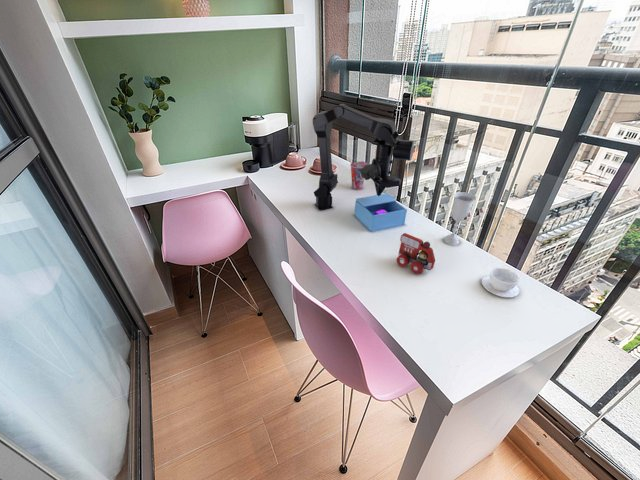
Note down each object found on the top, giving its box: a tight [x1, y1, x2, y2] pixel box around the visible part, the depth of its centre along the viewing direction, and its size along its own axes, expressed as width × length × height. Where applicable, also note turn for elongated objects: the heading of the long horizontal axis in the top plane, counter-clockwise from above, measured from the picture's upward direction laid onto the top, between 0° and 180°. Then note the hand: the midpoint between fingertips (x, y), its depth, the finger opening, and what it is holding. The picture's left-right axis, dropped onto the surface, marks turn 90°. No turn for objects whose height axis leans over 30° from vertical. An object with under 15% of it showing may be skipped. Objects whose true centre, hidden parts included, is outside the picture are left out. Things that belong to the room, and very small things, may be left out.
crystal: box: [374, 209, 387, 215], centre depth 126 cm, size 5×5×5 cm
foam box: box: [354, 199, 408, 233], centre depth 126 cm, size 15×15×7 cm
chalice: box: [443, 191, 477, 246], centre depth 108 cm, size 7×7×18 cm
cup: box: [350, 161, 369, 191], centre depth 153 cm, size 9×8×12 cm
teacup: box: [481, 267, 521, 298], centre depth 91 cm, size 10×10×5 cm
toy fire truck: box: [396, 232, 436, 275], centre depth 99 cm, size 7×12×10 cm, turn 44°
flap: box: [355, 192, 397, 207], centre depth 127 cm, size 7×15×1 cm, turn 108°
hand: (378, 195), depth 124 cm, fingers closed
